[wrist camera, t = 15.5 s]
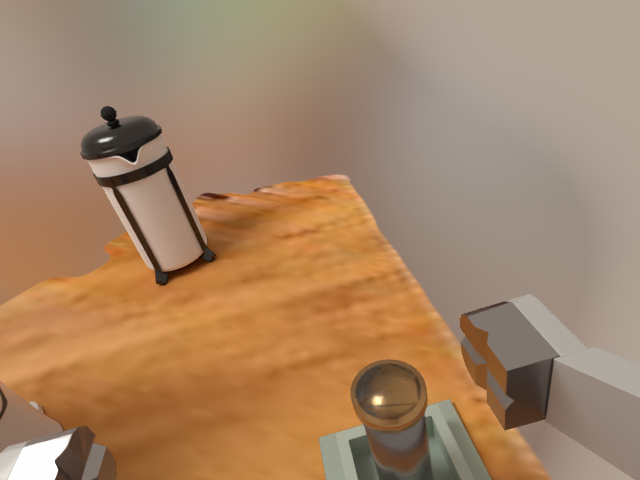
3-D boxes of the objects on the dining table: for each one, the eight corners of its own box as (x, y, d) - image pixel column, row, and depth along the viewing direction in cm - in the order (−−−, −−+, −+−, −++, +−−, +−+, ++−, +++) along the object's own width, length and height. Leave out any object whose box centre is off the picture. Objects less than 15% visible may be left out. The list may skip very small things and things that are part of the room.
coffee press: (235, 235, 82) (175, 84, 66) (191, 288, 70) (105, 117, 54) (168, 236, 89) (99, 98, 73) (117, 284, 76) (21, 130, 61)
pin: (389, 531, 33) (361, 434, 26) (372, 469, 38) (343, 371, 30) (450, 512, 33) (439, 411, 26) (425, 453, 38) (410, 351, 30)
